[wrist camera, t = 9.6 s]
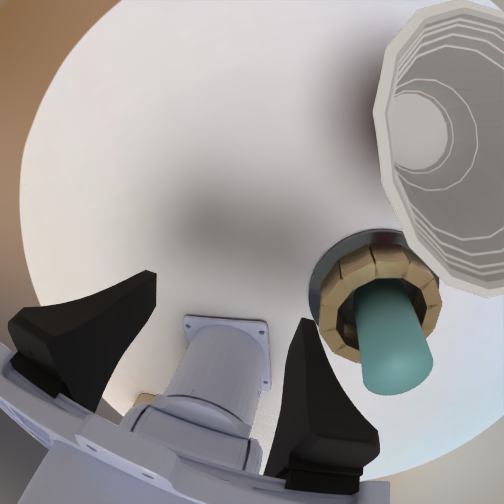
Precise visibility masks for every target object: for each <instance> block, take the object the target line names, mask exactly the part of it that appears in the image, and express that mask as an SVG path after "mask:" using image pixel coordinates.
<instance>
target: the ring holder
mask: <svg viewBox="0 0 504 504" xmlns="http://www.w3.org/2000/svg"><path fill="white" fill-rule="evenodd" d="M376 278H398V279H399V280H400V281H401V282H402V284H403V286H404V288H405V290H406V293H407V295H408V297H409V299H410V302H411V304H412V306H413V309H414V311H415V313H416V316H417V318H418V321H419V323H420V326H421V328H422V331H423V333H424V336H425V339H426V338H427V337H428V336H429V335H430V334H431V333H432V332H433V329H435V326H436V323H437V320H438V316H439V313H440V310H441V307H442V300H441V297H440V294H439V277H438V276H437V275H436V274H435V273H434V272H433V271H432V270H431V269H430V268H429V266H428V265H427V264H426V263H425V262H424V261H423V260H422V259H421V258H420V257H419V256H418V255H417V254H416V253H415V252H414V251H413V250H412V249H411V248H410V247H409V246H408V243H407V241H406V238H405V236H404V233H403V232H400V231H396V230H390V229H373V230H368V231H363V232H360V233H357V234H354V235H352V236H350V237H347V238H346V239H344V240H342V241H341V242H339V243H338V244H336V245H335V246H334V247H332V248H331V249H330V250H329V251H328V252H327V253H326V254H325V255H324V256H323V258H322V259H321V260H320V262H319V263H318V265H317V267H316V268H315V270H314V273H313V275H312V278H311V282H310V287H309V306H310V311H311V314H312V316H313V318H314V320H315V322H316V324H317V325H318V326H319V331H320V334H321V336H322V337H323V339H324V340H325V342H326V343H327V345H328V346H329V347H330V349H331V350H332V352H334V353H335V354H337V355H339V356H342V357H344V358H346V359H348V360H351V361H353V362H355V363H357V362H358V363H361V357H360V349H359V341H358V334H357V327H356V320H355V314H354V308H353V294H354V292H355V290H356V288H358V287H360V286H362V285H364V284H366V283H368V282H370V281H372V280H374V279H376Z"/></svg>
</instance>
